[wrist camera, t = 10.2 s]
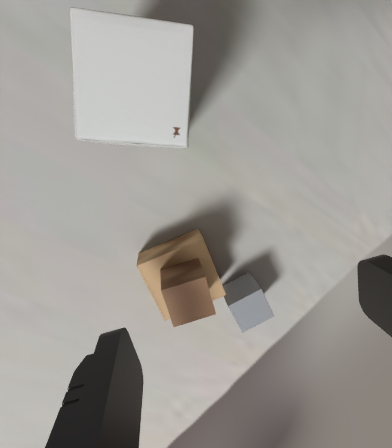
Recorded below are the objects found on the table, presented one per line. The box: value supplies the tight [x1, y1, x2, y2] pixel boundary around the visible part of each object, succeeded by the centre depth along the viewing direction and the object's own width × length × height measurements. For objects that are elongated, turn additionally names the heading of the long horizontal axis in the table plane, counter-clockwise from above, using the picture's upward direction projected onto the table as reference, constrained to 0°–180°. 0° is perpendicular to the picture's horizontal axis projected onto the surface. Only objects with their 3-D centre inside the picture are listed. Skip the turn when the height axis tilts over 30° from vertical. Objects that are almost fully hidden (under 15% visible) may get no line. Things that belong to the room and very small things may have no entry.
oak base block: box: [137, 229, 226, 321], centre depth 32 cm, size 8×8×4 cm
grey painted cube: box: [223, 272, 274, 332], centre depth 34 cm, size 4×4×4 cm
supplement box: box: [70, 7, 194, 148], centre depth 22 cm, size 7×7×13 cm
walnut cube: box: [160, 258, 216, 327], centre depth 28 cm, size 4×4×4 cm
